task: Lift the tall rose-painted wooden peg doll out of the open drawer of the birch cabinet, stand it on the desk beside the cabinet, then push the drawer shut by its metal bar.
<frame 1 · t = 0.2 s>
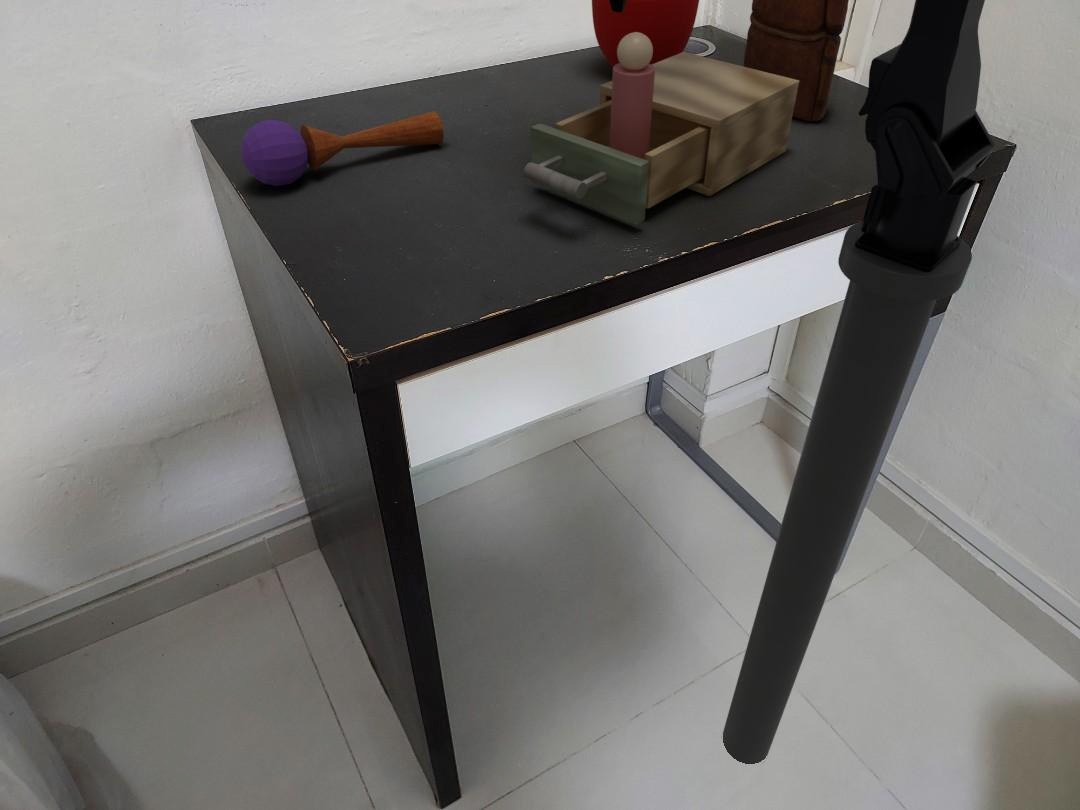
hand: (650, 1, 71), 14 cm above the table, tool pointing down, fingers open, 9 cm apart
doll: (627, 168, 73), point 2 cm above the table, touching drawer
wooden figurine: (783, 107, 90), on the table
cabinet: (691, 154, 80), on the table
ceramic cup: (649, 67, 101), on the table
kendama: (350, 167, 79), on the table
drawer: (612, 160, 71), point 4 cm above the table, slide at 9.0 cm, touching doll
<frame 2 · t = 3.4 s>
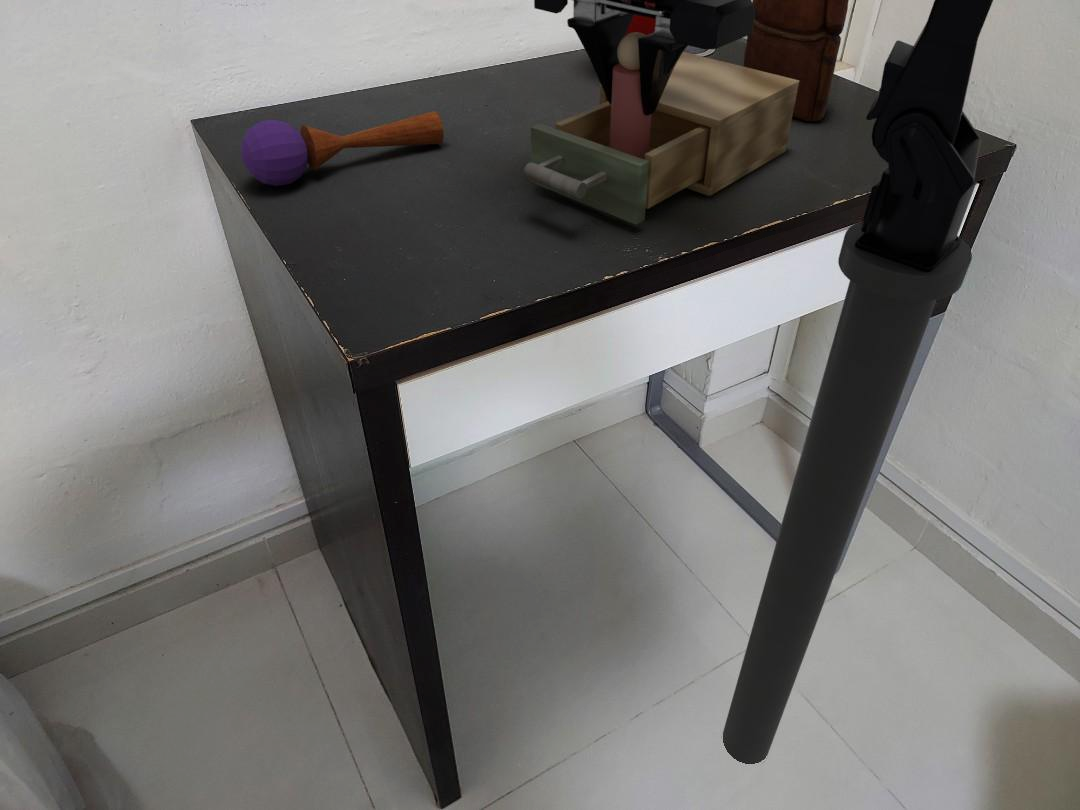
hand: (631, 108, 70), 8 cm above the table, tool pointing down, fingers closed on doll, 3 cm apart
doll: (627, 168, 73), point 2 cm above the table, touching drawer, gripper
everything else where it was.
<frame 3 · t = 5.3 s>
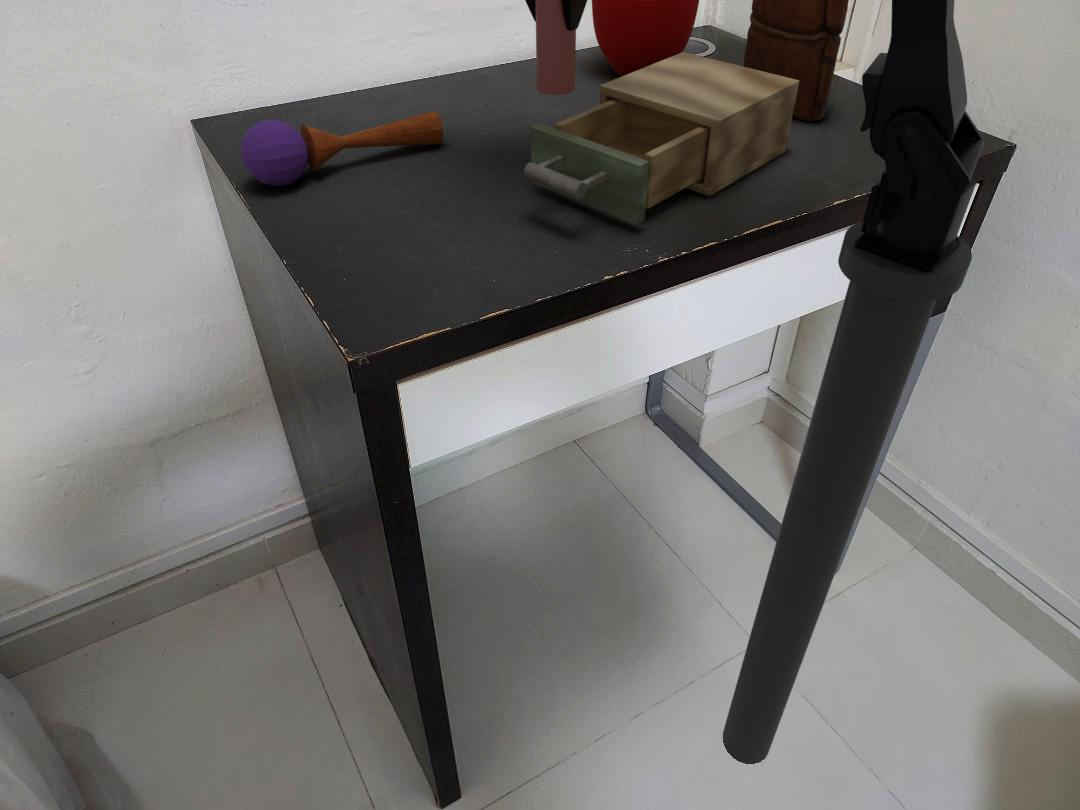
hand: (556, 25, 70), 13 cm above the table, tool pointing down, fingers closed on doll, 3 cm apart
doll: (555, 88, 74), point 7 cm above the table, touching gripper
drawer: (612, 160, 71), point 4 cm above the table, slide at 9.0 cm
everything else where it was.
when the fingers open (5 cm above the table, at t = 7.4 s): doll stays where it is, on the table.
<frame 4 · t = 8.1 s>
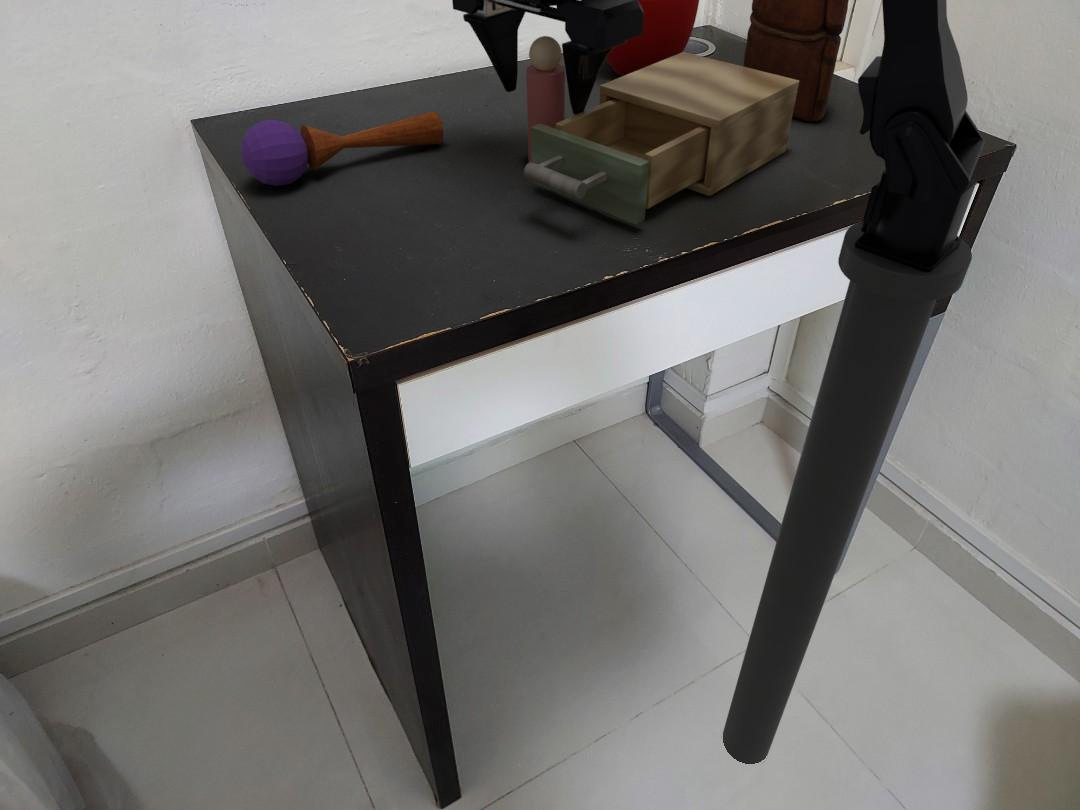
hand: (543, 101, 76), 6 cm above the table, tool pointing down, fingers open, 9 cm apart
doll: (546, 160, 79), on the table
everything else where it was.
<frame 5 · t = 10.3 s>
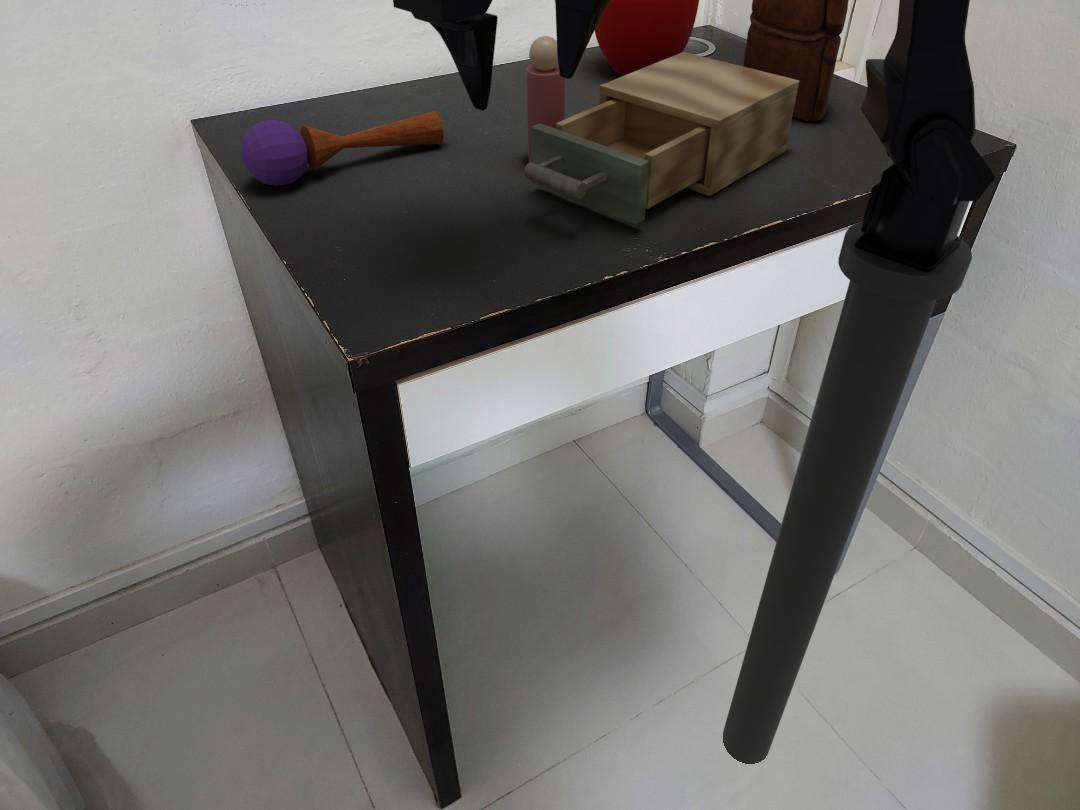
hand: (524, 92, 60), 12 cm above the table, tool pointing down, fingers open, 9 cm apart
nothing on the table moved.
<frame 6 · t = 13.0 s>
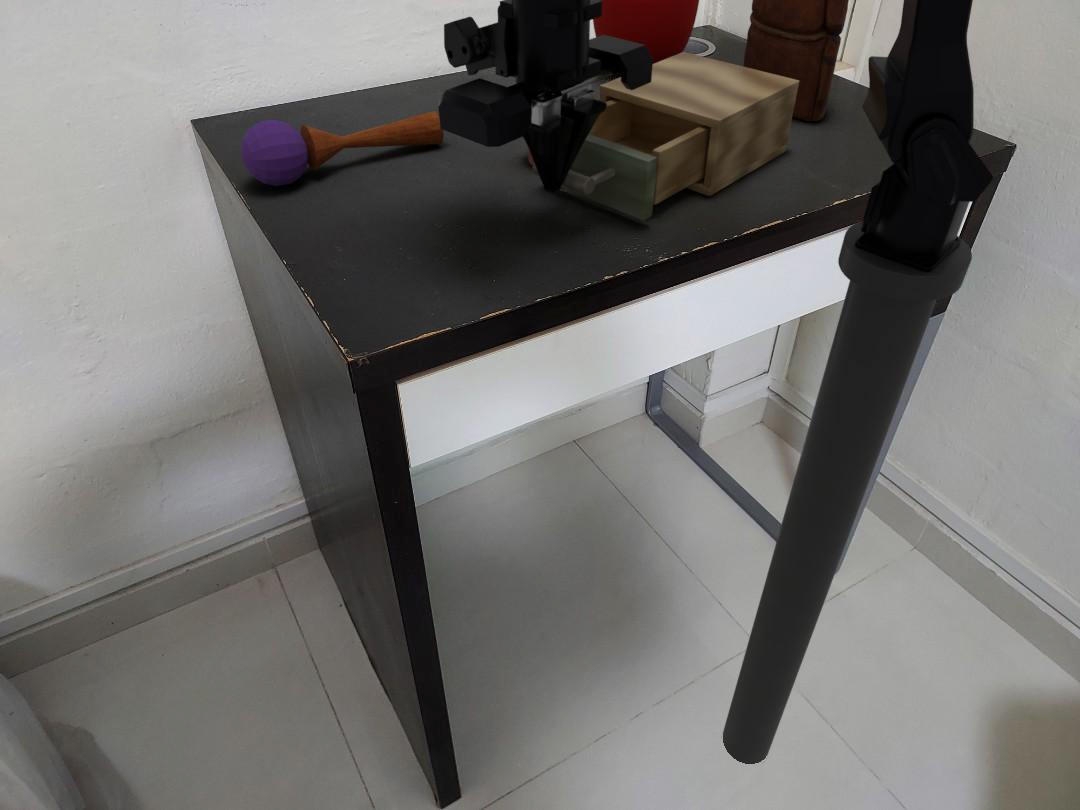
hand: (552, 190, 66), 4 cm above the table, tool pointing down, fingers closed
drawer: (619, 156, 71), point 4 cm above the table, slide at 7.9 cm, touching gripper
everything else where it was.
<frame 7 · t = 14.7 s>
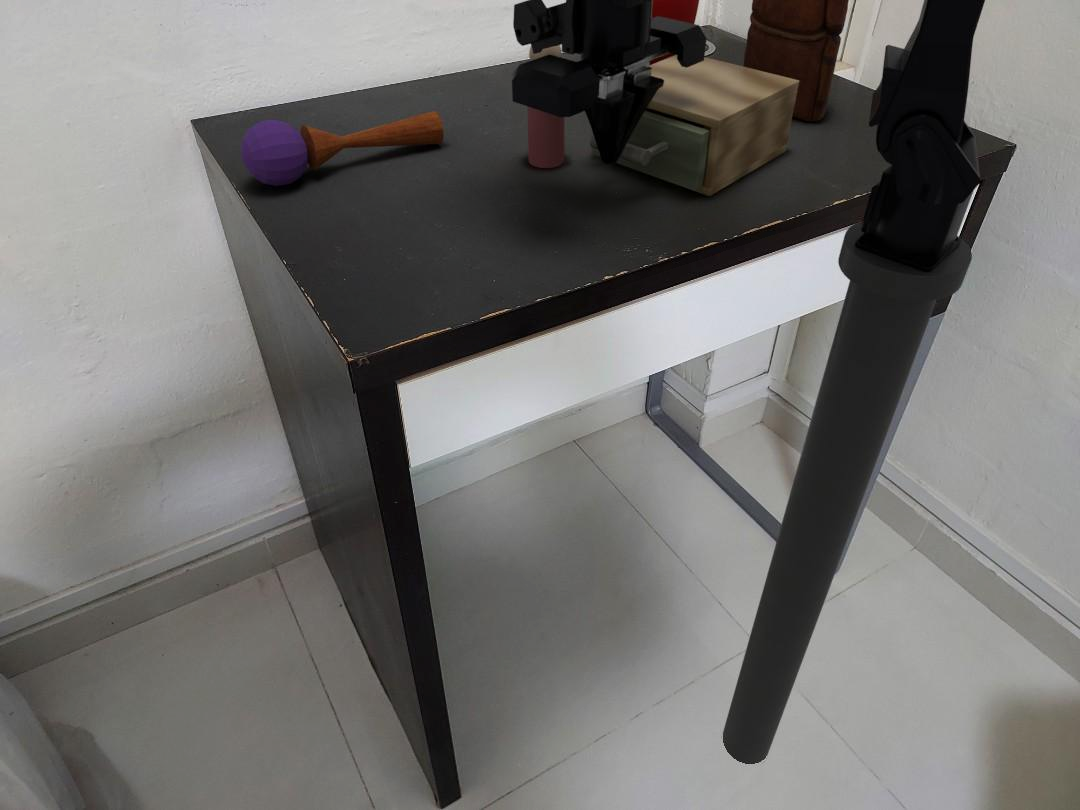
hand: (609, 162, 71), 4 cm above the table, tool pointing down, fingers closed
drawer: (670, 132, 76), point 4 cm above the table, slide at 0.4 cm, touching gripper
everything else where it was.
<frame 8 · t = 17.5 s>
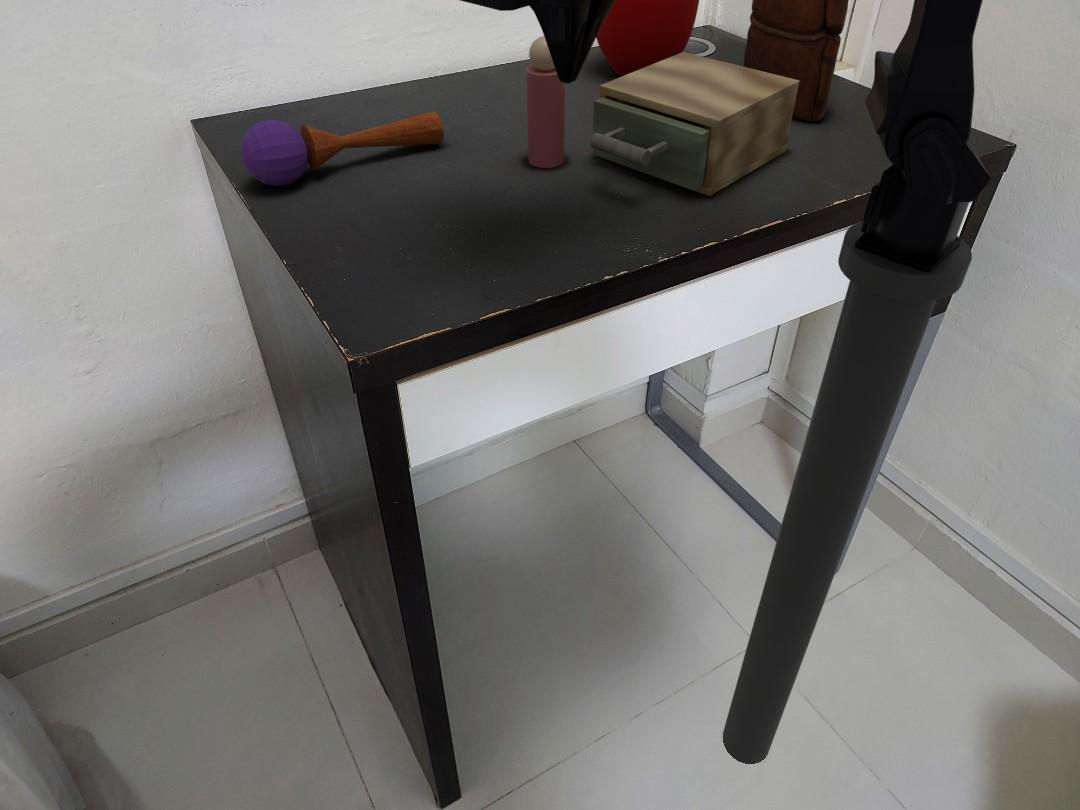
hand: (567, 81, 62), 12 cm above the table, tool pointing down, fingers closed
drawer: (670, 131, 76), point 4 cm above the table, slide at 0.3 cm
everything else where it was.
at the end: doll inside the target area (0.0 cm from its centre), on the table; doll tilted 0°; drawer slide at 0.3 cm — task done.
